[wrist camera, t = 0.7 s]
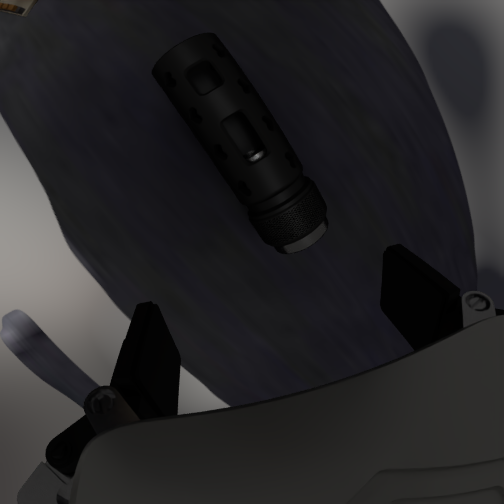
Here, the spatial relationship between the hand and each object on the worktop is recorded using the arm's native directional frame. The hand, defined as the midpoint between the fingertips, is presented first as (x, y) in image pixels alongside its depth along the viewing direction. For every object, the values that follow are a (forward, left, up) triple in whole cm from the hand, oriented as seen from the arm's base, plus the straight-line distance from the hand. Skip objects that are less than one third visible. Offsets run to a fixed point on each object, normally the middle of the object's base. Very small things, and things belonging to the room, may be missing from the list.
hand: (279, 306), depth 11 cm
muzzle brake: (-5, -2, -31) cm, 32 cm away
